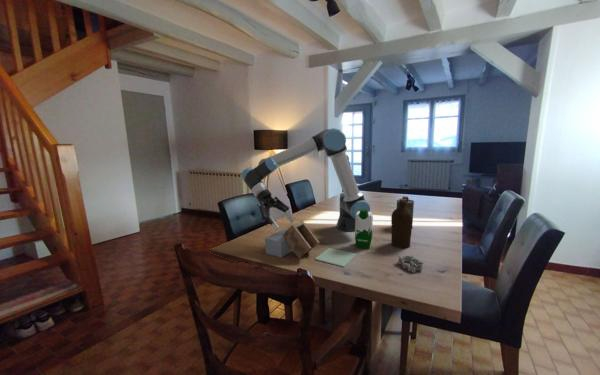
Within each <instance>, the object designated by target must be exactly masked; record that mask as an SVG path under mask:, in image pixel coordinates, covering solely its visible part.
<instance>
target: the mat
mask: <svg viewBox="0 0 600 375" xmlns="http://www.w3.org/2000/svg"><path fill="white" fill-rule="evenodd" d="M357 255H358V254H357V253H354V252H349V251H346V250H341V249H336V248H332V247H329V248H327V249H326V250H324V251H322V253H320V254H319V255H318V256H316V257H315V258H314V260H315V261H318V262H322V263H326V264H329V265H334V266H338V267H342V268H345V267H346V266H347V265H349V263H350V262H351V261H352V260H353V259H355V257H357Z"/></svg>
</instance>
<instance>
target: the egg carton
mask: <svg viewBox="0 0 600 375" xmlns="http://www.w3.org/2000/svg"><path fill="white" fill-rule="evenodd" d="M396 257H398V260H397V264H398V265H399V264H402V265H401V266H402V267H403V269H407V268H408V269H407V271H408V272H409V271H413V272H412V273H416V271H418V270H420V271H419V272H423V265H425V262H422V261H421V260H420V259H417V258H416V257H415V256H413V255H406V256H405V255H403V257H401V255H399V254H397V256H396ZM406 260H407V261H406ZM408 261H410V262H409V263H407V262H408ZM404 262H405V263H404ZM409 264H410V266H409ZM415 264H416V265H415Z"/></svg>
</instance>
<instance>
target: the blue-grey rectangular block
mask: <svg viewBox="0 0 600 375" xmlns="http://www.w3.org/2000/svg"><path fill="white" fill-rule="evenodd" d="M287 230H288V229H285V228H283V229H281V230H279V231H276V232H274V233H273V234H271V235H268V236H266V237H264V246H265V247H264V248H265V254H267V255H270V256H275V257H277V258H283V257H284V256H286V255H288V254H290V253H291V252H294V251H293V250H292V248H291V247H290V246H289V244H288V243H287V242H286V240H285V239H284V237H283V236H282V235H283V234H284V233H285V232H286V231H287Z"/></svg>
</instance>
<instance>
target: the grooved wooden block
mask: <svg viewBox="0 0 600 375" xmlns="http://www.w3.org/2000/svg"><path fill="white" fill-rule="evenodd" d="M286 230H287V231H286V232H285V233H284V234H283V235H282V236H283V237H284V239H285V240H286V242H287V243H288V244H289V246H290V247H291V248H292V250H293V251H292V252H294V253H295V255H296V256H297V258H298V259H301V258H302V257H304V255H305V254H306V253H307V254H308V253H309V252H311V251H312V250H313V249H314V248H315V247H316V246H318V244H320V241H319V240H318V238H317V237H316V236H315V234H314V233H313V232H312V231H311V229H310V228H309V227H308V225H307V224H306V223H305V222H304V220H300V221H298V222H295V223H293V224H292V225H290V227H289V228H288V229H286Z"/></svg>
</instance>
